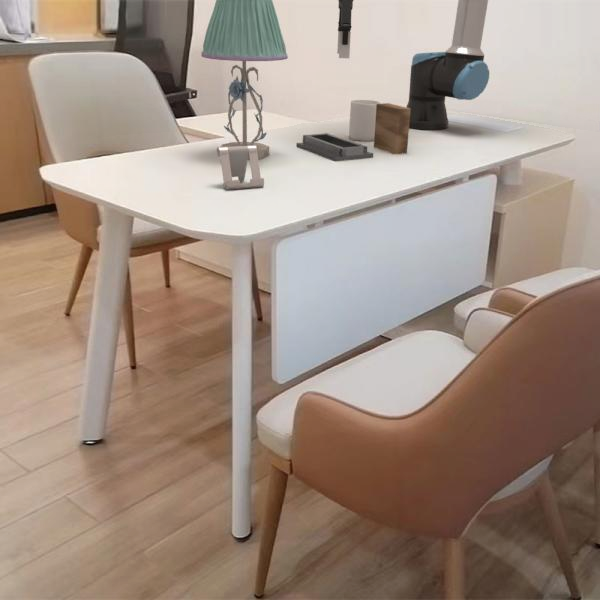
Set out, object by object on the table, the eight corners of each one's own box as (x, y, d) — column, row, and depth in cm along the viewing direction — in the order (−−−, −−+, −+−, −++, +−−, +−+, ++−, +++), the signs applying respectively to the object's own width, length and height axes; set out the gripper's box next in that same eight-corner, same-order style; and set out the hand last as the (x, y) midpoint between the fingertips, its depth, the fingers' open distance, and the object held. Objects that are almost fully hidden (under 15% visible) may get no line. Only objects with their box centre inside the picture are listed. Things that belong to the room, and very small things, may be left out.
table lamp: (186, 153, 193) (181, -12, 178) (246, 143, 208) (246, -11, 192) (242, 168, 180) (242, -10, 164) (302, 155, 195) (307, -8, 179)
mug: (390, 137, 222) (393, 101, 217) (365, 142, 213) (368, 105, 209) (367, 133, 227) (370, 98, 223) (342, 138, 219) (344, 101, 215)
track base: (332, 143, 211) (333, 132, 210) (373, 157, 195) (373, 146, 194) (296, 146, 206) (296, 135, 204) (335, 161, 190) (335, 149, 189)
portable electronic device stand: (227, 191, 160) (226, 152, 157) (215, 182, 167) (215, 145, 163) (264, 188, 163) (264, 150, 160) (251, 179, 170) (251, 143, 166)
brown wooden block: (385, 146, 210) (388, 103, 205) (406, 153, 202) (410, 108, 197) (373, 147, 208) (376, 103, 203) (395, 154, 200) (398, 109, 195)
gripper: (331, -31, 201) (328, 51, 209) (333, -33, 178) (330, 59, 186) (359, -30, 201) (354, 52, 209) (364, -32, 178) (359, 60, 186)
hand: (343, 56), depth 198 cm, fingers open, 13 cm apart
